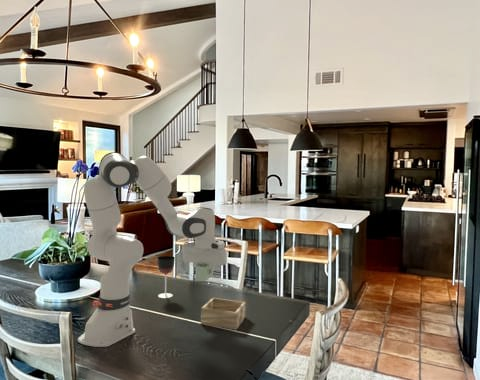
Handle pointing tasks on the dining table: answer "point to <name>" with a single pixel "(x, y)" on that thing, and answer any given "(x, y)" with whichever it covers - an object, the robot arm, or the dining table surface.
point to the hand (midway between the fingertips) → (204, 273)
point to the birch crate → (223, 313)
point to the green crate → (203, 272)
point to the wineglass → (165, 270)
